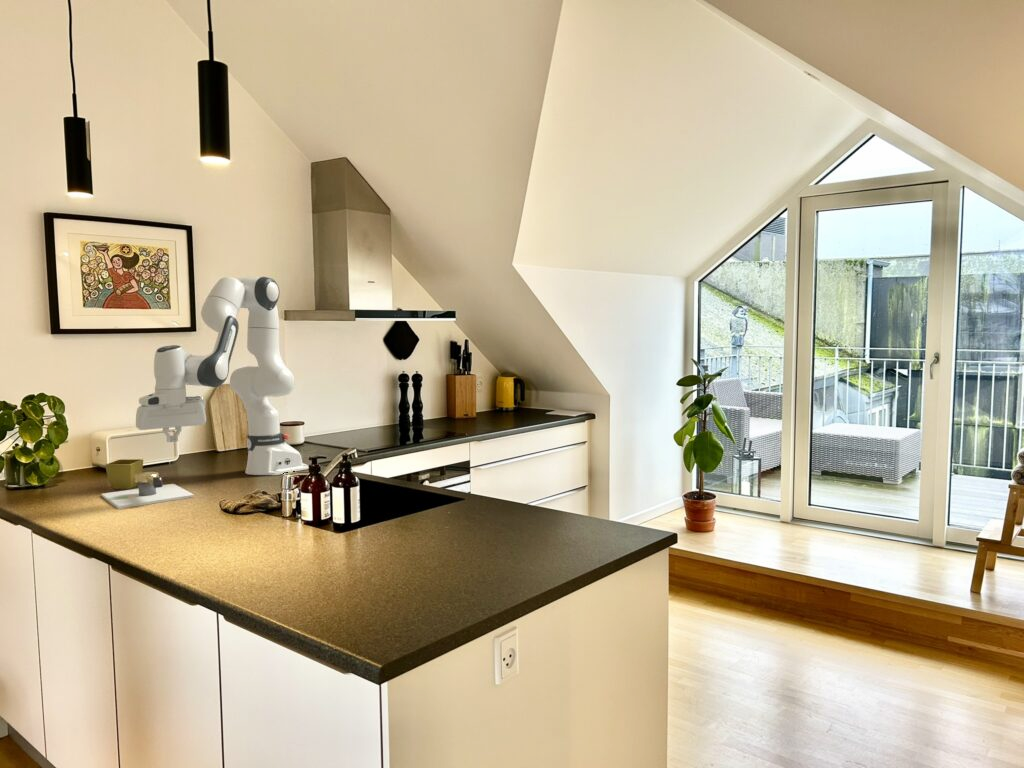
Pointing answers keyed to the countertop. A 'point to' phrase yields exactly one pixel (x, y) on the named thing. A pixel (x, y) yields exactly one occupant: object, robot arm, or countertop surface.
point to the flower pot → (124, 472)
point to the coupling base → (146, 495)
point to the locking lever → (149, 479)
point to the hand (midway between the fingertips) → (172, 441)
